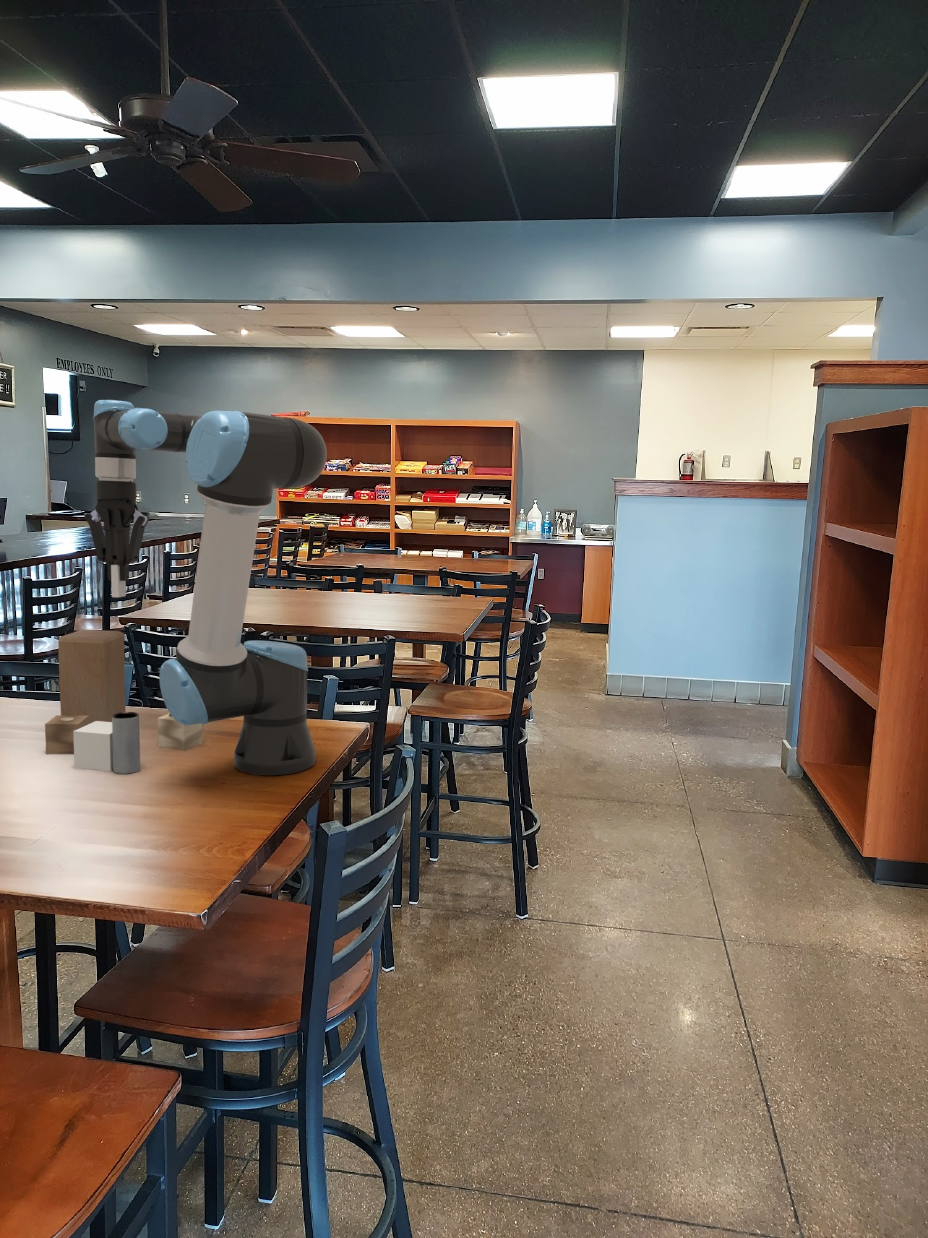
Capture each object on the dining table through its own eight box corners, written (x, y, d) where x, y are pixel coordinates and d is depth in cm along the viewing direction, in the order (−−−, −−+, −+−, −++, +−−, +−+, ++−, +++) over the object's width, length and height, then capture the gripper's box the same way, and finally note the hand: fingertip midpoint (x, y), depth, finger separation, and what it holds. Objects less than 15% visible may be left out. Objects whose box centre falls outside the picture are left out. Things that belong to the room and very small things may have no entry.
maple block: (202, 742, 165) (202, 713, 164) (183, 751, 159) (183, 720, 158) (177, 739, 167) (176, 709, 166) (158, 747, 161) (157, 717, 160)
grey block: (131, 759, 153) (130, 723, 152) (110, 771, 146) (109, 734, 145) (97, 756, 154) (96, 721, 153) (74, 768, 147) (73, 731, 146)
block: (107, 733, 168) (104, 638, 165) (59, 731, 168) (55, 636, 165) (127, 720, 178) (125, 630, 175) (82, 718, 178) (79, 628, 175)
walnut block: (89, 744, 161) (88, 714, 160) (79, 754, 155) (78, 723, 154) (57, 744, 160) (56, 714, 159) (46, 754, 154) (44, 723, 153)
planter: (145, 768, 148) (144, 714, 147) (126, 776, 144) (125, 719, 143) (127, 764, 150) (126, 710, 149) (107, 771, 146) (106, 716, 145)
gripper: (156, 481, 166) (157, 596, 169) (96, 479, 168) (99, 592, 171) (136, 480, 159) (139, 600, 162) (74, 478, 160) (78, 596, 164)
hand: (118, 596), depth 167 cm, fingers closed
